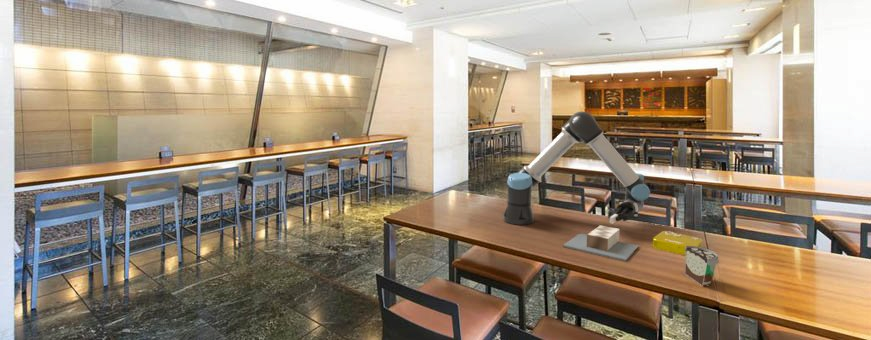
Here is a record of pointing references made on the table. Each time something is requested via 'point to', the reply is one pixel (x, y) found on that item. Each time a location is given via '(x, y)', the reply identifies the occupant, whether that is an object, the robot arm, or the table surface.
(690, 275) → the food container
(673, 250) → the element tile
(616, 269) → the table surface
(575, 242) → the mat
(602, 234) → the tall block
